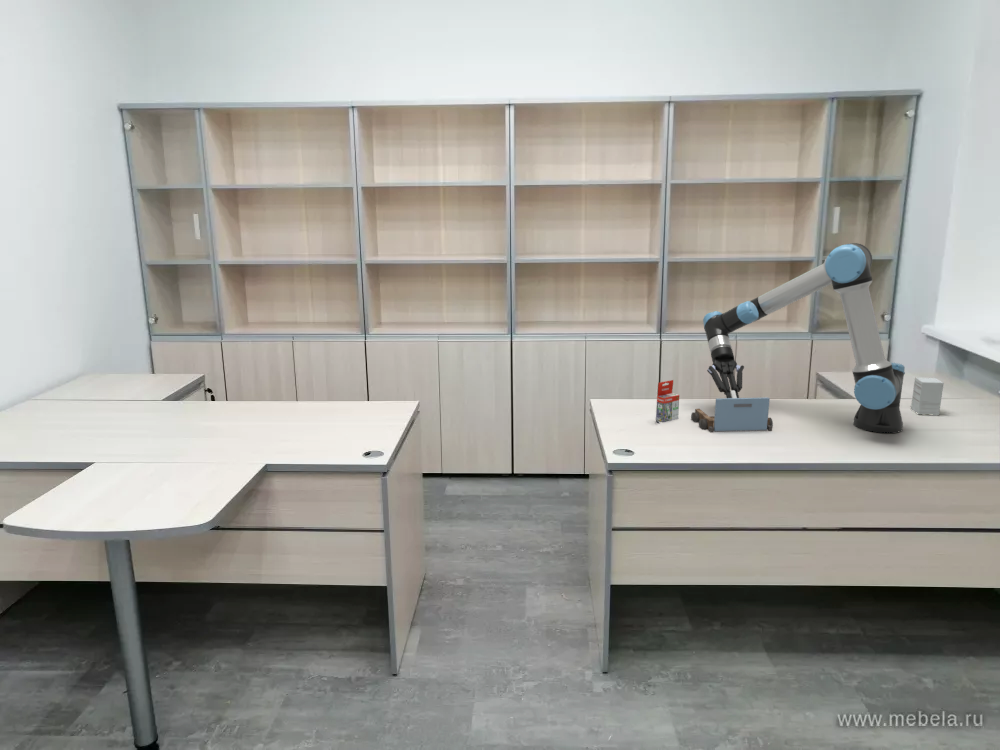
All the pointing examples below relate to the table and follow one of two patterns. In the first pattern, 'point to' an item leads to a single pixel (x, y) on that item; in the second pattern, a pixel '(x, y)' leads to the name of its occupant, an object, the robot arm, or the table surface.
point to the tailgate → (741, 414)
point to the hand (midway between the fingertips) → (735, 408)
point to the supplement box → (927, 396)
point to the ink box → (666, 403)
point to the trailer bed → (708, 421)
